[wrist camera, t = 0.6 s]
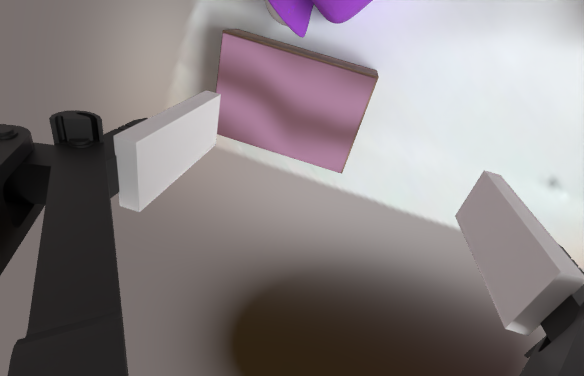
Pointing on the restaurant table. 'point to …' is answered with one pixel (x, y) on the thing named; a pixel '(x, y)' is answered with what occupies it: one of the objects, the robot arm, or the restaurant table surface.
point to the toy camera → (298, 5)
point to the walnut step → (291, 99)
